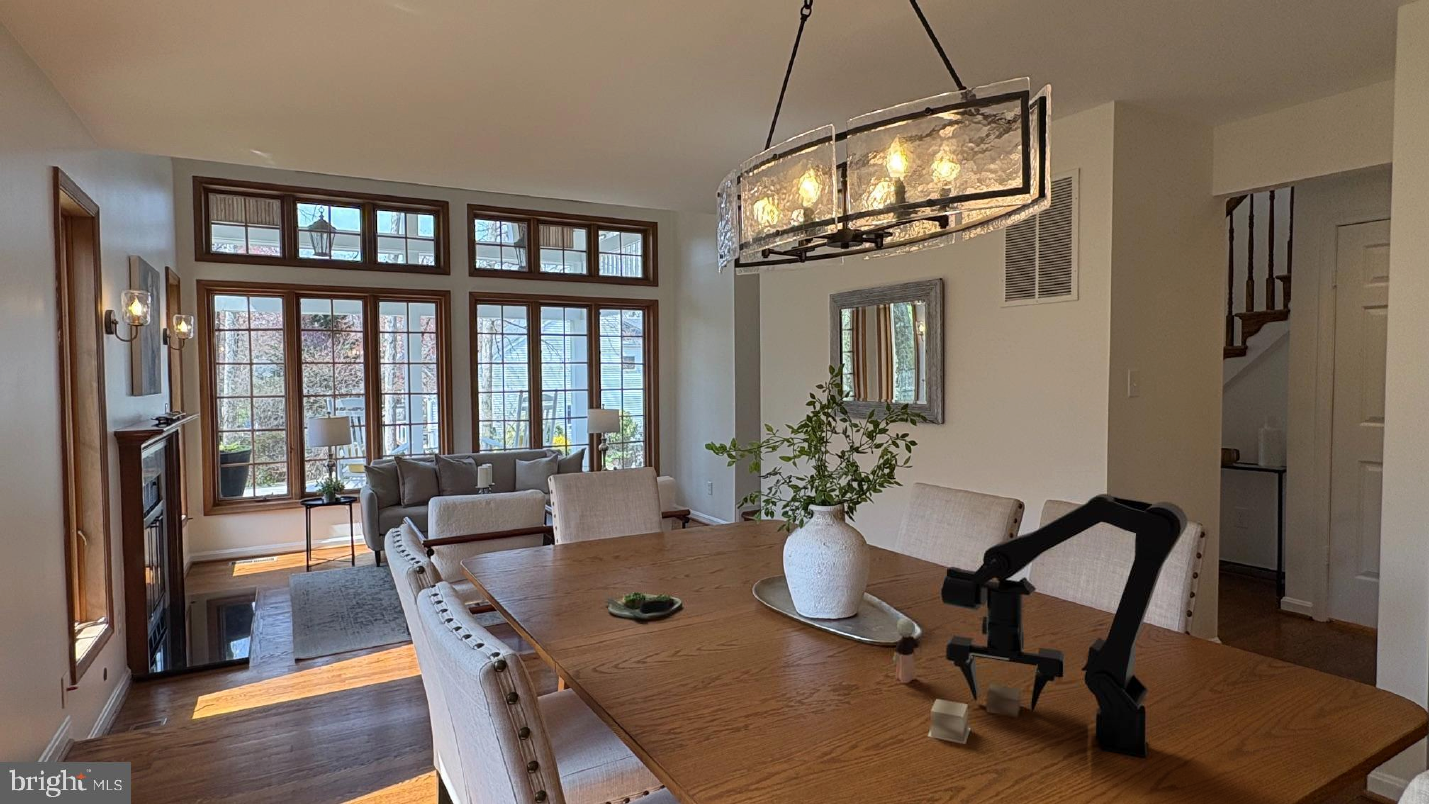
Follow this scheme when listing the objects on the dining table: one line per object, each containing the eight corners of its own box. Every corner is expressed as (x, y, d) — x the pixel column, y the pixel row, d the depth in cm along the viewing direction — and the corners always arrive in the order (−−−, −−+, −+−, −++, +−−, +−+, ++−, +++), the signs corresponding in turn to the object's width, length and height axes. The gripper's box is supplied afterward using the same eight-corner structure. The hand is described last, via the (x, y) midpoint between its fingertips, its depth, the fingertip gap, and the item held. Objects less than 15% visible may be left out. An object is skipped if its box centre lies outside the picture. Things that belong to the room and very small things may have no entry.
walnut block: (1020, 711, 134) (1020, 689, 133) (1017, 723, 129) (1017, 700, 129) (990, 706, 136) (990, 683, 136) (986, 717, 131) (986, 694, 131)
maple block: (967, 728, 125) (967, 704, 125) (963, 741, 121) (963, 716, 120) (936, 722, 127) (936, 698, 127) (930, 735, 123) (930, 710, 123)
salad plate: (586, 615, 190) (586, 597, 189) (626, 596, 205) (626, 579, 205) (653, 626, 181) (653, 607, 181) (689, 606, 197) (689, 588, 197)
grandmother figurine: (904, 676, 149) (905, 611, 149) (923, 681, 147) (923, 615, 146) (886, 688, 143) (886, 622, 143) (905, 694, 141) (905, 626, 140)
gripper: (1065, 609, 135) (1064, 696, 135) (955, 596, 143) (955, 678, 144) (1063, 628, 125) (1062, 722, 125) (945, 613, 133) (945, 701, 134)
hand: (1004, 704), depth 132 cm, fingers open, 9 cm apart
